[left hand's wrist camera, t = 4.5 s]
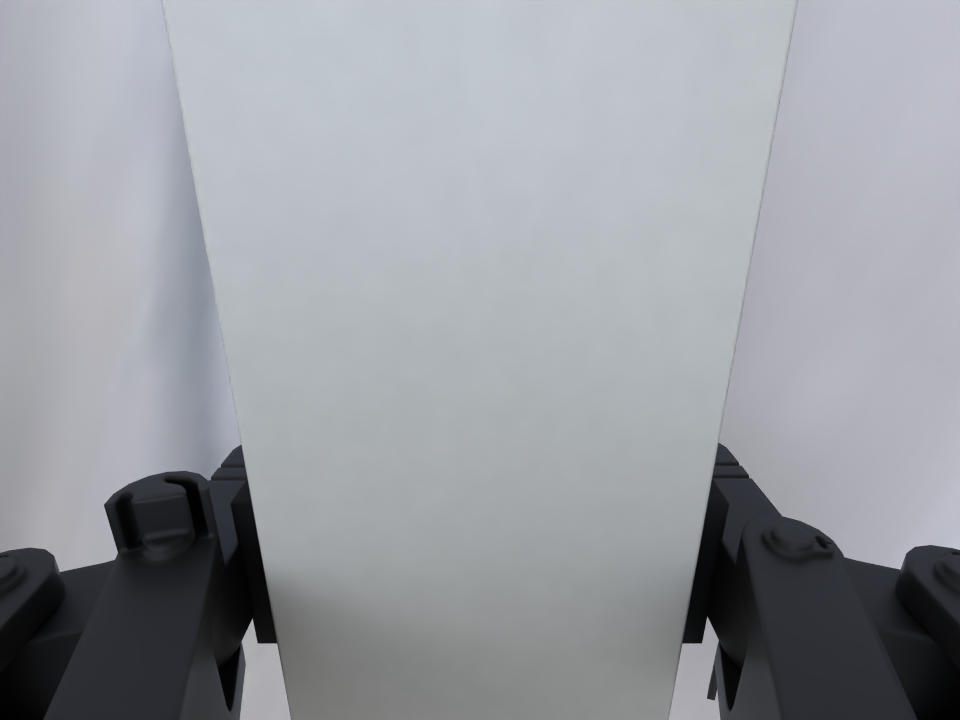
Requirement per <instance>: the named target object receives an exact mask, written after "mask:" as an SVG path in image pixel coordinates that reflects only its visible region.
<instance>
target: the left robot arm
mask: <svg viewBox="0 0 960 720" xmlns="http://www.w3.org/2000/svg"><path fill="white" fill-rule="evenodd" d="M104 507H105V510H106V513H107V517H108V520H109V523H110V527H111V530H112V534H113V537H114V540H115V544H116V547H117V550H118V555H117V557H116V559H115V560H113V561H109V562H106V563H101V564H97V565H92V566H87V567H82V568H77V569H73V570H68V571H63V572H59V569H58V566H57V563H56V560H55V557H54V556H53V555H52V554H51V553H49V552H48V551H47V550H45V549H37V548H24V549H17V550H10V551H6V552H2V553H0V720H240V711H241V701H242V692H243V683H244V674H245V665H246V664H245V657H244V651H243V646H242V642H241V641H242V639H243V637H244V635H245V633H246V631H247V629H248V627H249V624H250V622H251V620H252V618H253V621H254V626H255V632H256V637H257V642H258V643H277V638H276V633H275V627H274V621H273V616H272V610H271V605H270V599H269V594H268V588H267V583H266V577H265V572H264V566H263V561H262V555H261V549H260V544H259V538H258V533H257V527H256V522H255V516H254V511H253V505H252V500H251V494H250V489H249V483H248V478H247V472H246V466H245V461H244V455H243V450H242V445H240V446H238V447H237V448H235V449H234V450H233V451H232V452H231V453H230V454H229V456H228V457H227V458H226V459H225V461H224V462H223V463H222V464H221V468H218V469H217V471H216V472H215V473H214V474H213V476H212V477H211V480H209V481H207V479H205V478H204V477H203V476H201V475H200V474H198V473H193V472H188V471H176V472H165V473H161V474H156V475H152V476H148V477H145V478H143V479H140V480H138V481H135V482H133V483H130V484H128V485H127V486H125V487H124V488H122V489H121V490H119V491H118V492H116V493H114V494H113V495H112V496H111V498H110V499H109V500H108V501H107V502H106V503H105V504H104ZM707 616H708V618H709V620H710V622H711V624H712V626H713V629H714V631H715V633H716V635H717V637H718V639H719V642H718V646H717V651H716V656H715V660H714V665H713V670H712V675H711V679H710V684H709V690H708V696H707V699H711V700H715V696H716V692H717V691H718V700H719V709H720V718H721V720H960V550H957V549H953V548H947V547H940V546H933V545H928V546H919V547H914V548H913V549H912V550H910V551H909V552H908V553H906V556H905V559H904V562H903V565H902V568H901V570H899V569H894V568H889V567H885V566H880V565H875V564H870V563H865V562H861V561H856V560H852V559H848V558H845V557H844V556H843V554H842V552H841V551H840V549H839V548H838V547H837V545H836V544H835V543H834V541H833V540H832V539H830V538H829V537H828V536H826V535H825V534H824V533H822V532H821V531H820V530H818V529H816V528H814V527H812V526H810V525H807V524H805V523H803V522H801V521H798V520H794V519H790V518H786V517H783V516H782V515H781V514H780V513H779V512H778V511H777V509H776V508H775V507H774V506H773V504H772V503H771V502H770V501H769V499H768V498H767V497H766V496H765V494H764V493H763V492H762V491H761V490H760V488H759V487H758V486H757V485H756V483H755V482H754V481H753V480H752V478H749V475H748V474H747V472H746V471H745V470H744V469H743V467H742V466H739V462H738V461H737V460H736V459H735V457H734V456H733V455H732V454H731V453H730V451H729V450H728V449H727V448H726V447H725V446H723V445H721V444H720V443H718V447H717V453H716V458H715V464H714V469H713V475H712V480H711V486H710V492H709V497H708V503H707V508H706V514H705V519H704V525H703V530H702V536H701V542H700V547H699V553H698V558H697V564H696V569H695V575H694V580H693V586H692V592H691V597H690V603H689V608H688V614H687V619H686V625H685V631H684V636H683V642H682V643H702V640H703V635H704V630H705V625H706V620H707Z"/></svg>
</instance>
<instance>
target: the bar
mask: <svg viewBox="0 0 960 720" xmlns="http://www.w3.org/2000/svg"><path fill="white" fill-rule="evenodd" d="M161 1H162V7H163V12H164V18H165V24H166V29H167V35H168V40H169V46H170V51H171V57H172V62H173V68H174V73H175V79H176V84H177V90H178V96H179V101H180V107H181V112H182V118H183V123H184V129H185V134H186V140H187V145H188V151H189V156H190V162H191V167H192V173H193V179H194V184H195V190H196V195H197V201H198V206H199V212H200V217H201V223H202V228H203V234H204V239H205V245H206V251H207V256H208V262H209V267H210V273H211V278H212V284H213V289H214V295H215V300H216V306H217V311H218V317H219V323H220V328H221V334H222V339H223V345H224V350H225V356H226V361H227V367H228V372H229V378H230V383H231V389H232V394H233V400H234V406H235V411H236V417H237V422H238V428H239V433H240V439H241V444H242V450H243V455H244V461H245V466H246V472H247V478H248V483H249V489H250V494H251V500H252V505H253V511H254V516H255V522H256V527H257V533H258V538H259V544H260V549H261V555H262V561H263V566H264V572H265V577H266V583H267V588H268V594H269V599H270V605H271V610H272V616H273V621H274V627H275V633H276V638H277V644H278V649H279V655H280V660H281V666H282V671H283V677H284V682H285V688H286V693H287V699H288V704H289V710H290V716H291V720H668V719H669V714H670V708H671V703H672V697H673V692H674V686H675V681H676V675H677V669H678V664H679V658H680V653H681V647H682V642H683V636H684V631H685V625H686V619H687V614H688V608H689V603H690V597H691V592H692V586H693V580H694V575H695V569H696V564H697V558H698V553H699V547H700V542H701V536H702V530H703V525H704V519H705V514H706V508H707V503H708V497H709V492H710V486H711V480H712V475H713V469H714V464H715V458H716V453H717V447H718V442H719V436H720V430H721V425H722V419H723V414H724V408H725V403H726V397H727V392H728V386H729V380H730V375H731V369H732V364H733V358H734V353H735V347H736V342H737V336H738V330H739V325H740V319H741V314H742V308H743V303H744V297H745V292H746V286H747V280H748V275H749V269H750V264H751V258H752V253H753V247H754V242H755V236H756V230H757V225H758V219H759V214H760V208H761V203H762V197H763V192H764V186H765V180H766V175H767V169H768V164H769V158H770V153H771V147H772V142H773V136H774V130H775V125H776V119H777V114H778V108H779V103H780V97H781V92H782V86H783V80H784V75H785V69H786V64H787V58H788V53H789V47H790V42H791V36H792V30H793V25H794V19H795V14H796V8H797V3H798V0H161Z"/></svg>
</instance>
